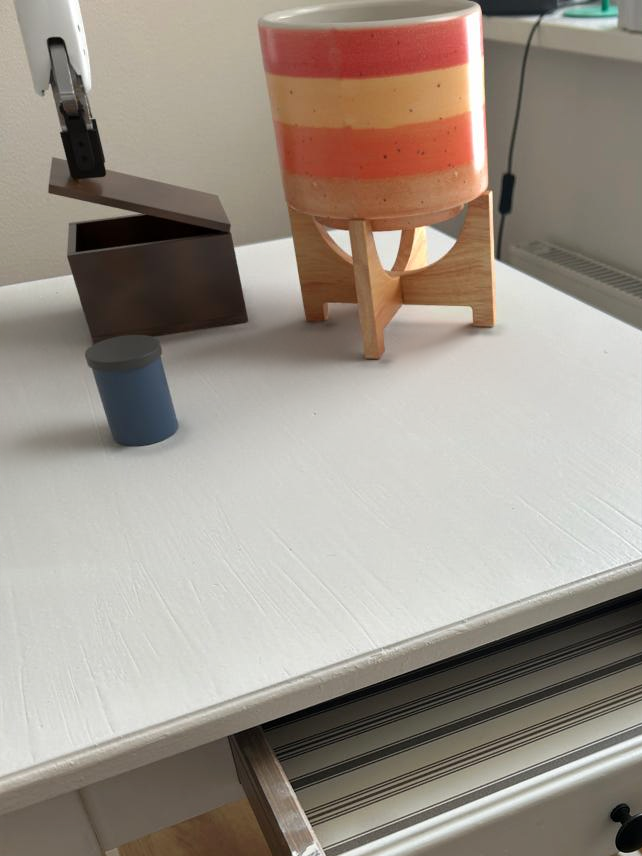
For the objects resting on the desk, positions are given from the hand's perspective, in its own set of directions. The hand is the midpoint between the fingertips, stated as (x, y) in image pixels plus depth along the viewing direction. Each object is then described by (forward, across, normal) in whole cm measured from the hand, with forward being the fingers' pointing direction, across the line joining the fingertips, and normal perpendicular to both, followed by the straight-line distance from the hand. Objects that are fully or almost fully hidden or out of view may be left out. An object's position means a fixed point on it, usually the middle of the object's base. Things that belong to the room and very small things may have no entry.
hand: (88, 169), depth 95 cm
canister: (+15, +29, +1) cm, 33 cm away
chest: (+15, 0, +4) cm, 15 cm away
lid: (+3, 0, +4) cm, 5 cm away
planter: (+14, +13, +27) cm, 33 cm away
